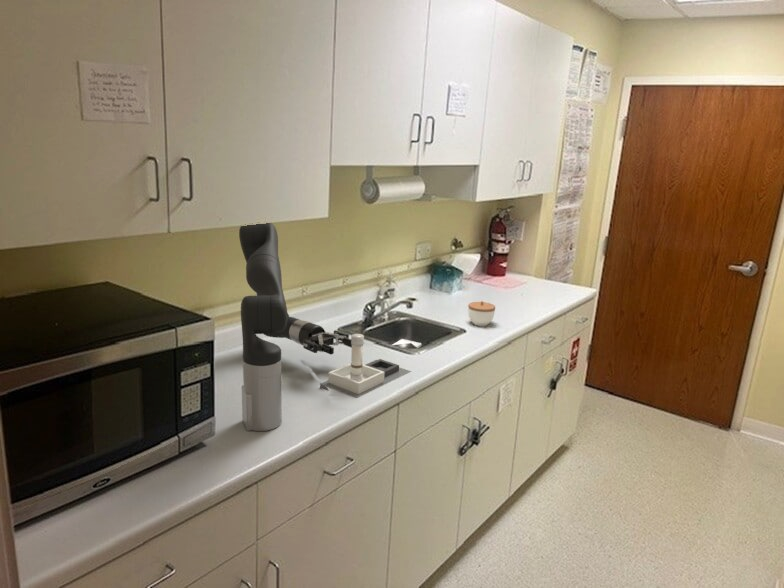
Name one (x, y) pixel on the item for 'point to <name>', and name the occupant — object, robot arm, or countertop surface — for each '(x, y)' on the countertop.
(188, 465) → the countertop surface
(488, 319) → the lidded jar
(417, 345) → the hard drive
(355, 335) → the white capped peg
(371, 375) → the grey board with tray
